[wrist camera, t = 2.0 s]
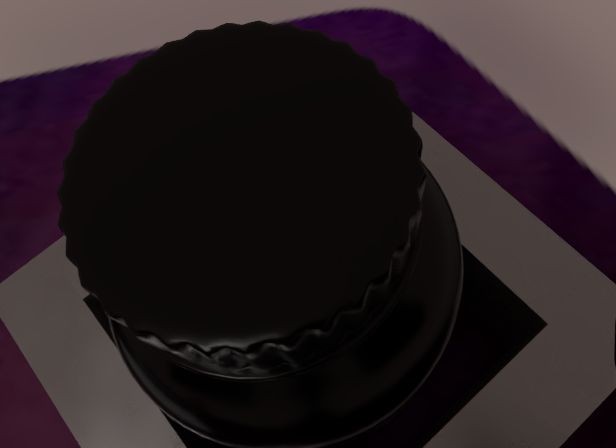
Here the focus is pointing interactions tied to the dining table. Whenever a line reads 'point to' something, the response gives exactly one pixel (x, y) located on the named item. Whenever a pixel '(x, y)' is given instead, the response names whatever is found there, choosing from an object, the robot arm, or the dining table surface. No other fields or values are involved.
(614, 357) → the robot arm
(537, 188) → the dining table surface
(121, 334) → the supplement bottle
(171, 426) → the housing
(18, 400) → the dining table surface
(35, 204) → the dining table surface
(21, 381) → the dining table surface
